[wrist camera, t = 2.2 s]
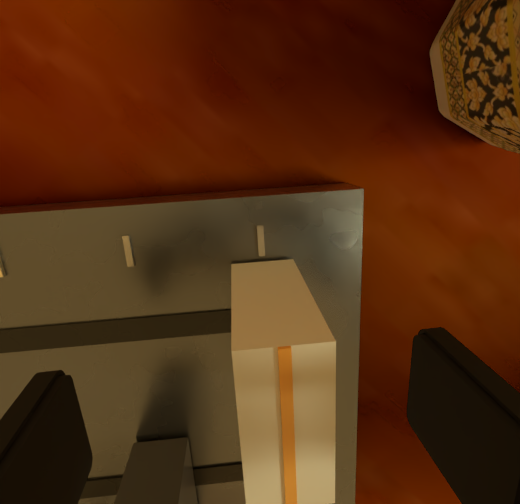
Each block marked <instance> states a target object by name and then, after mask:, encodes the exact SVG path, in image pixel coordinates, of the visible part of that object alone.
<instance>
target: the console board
mask: <svg viewBox="0 0 520 504" xmlns="http://www.w3.org/2000/svg"><path fill="white" fill-rule="evenodd" d="M363 198H364V189H363V188H360V187H357V186H355V185H352V184H349V183H338V184H324V185H309V186H295V187H280V188H266V189H251V190H237V191H222V192H208V193H193V194H179V195H165V196H150V197H136V198H121V199H107V200H92V201H78V202H63V203H49V204H34V205H20V206H6V207H0V419H1V418H2V417H3V415H4V414H5V413H6V412H7V410H8V409H9V408H10V406H11V405H12V404H13V402H14V401H15V400H16V398H17V397H18V396H19V395H20V393H21V392H22V391H23V389H24V388H25V387H26V385H27V384H28V383H29V381H30V380H31V379H32V377H33V376H34V375H35V374H36V373H39V372H46V371H55V370H62V371H64V373H65V375H71V377H72V379H73V382H74V386H75V390H76V394H77V397H78V401H79V405H80V409H81V413H82V416H83V420H84V424H85V428H86V431H87V435H88V439H89V443H90V446H91V450H92V455H93V461H92V468H91V471H90V473H89V476H88V479H87V481H86V484H85V487H84V489H83V492H82V494H81V497H80V500H79V502H78V504H114V502H115V499H116V496H117V493H118V490H119V486H120V483H121V480H122V477H123V474H124V471H125V468H126V465H127V462H128V459H129V455H130V452H131V449H132V446H133V443H138V442H148V441H157V440H167V439H176V438H185V437H188V441H189V448H190V454H191V461H192V468H193V474H194V481H195V488H196V495H197V501H198V504H246V500H245V489H244V479H243V468H242V458H241V447H240V436H239V426H238V415H237V405H236V394H235V384H234V373H233V363H232V352H231V264H239V263H251V262H264V261H276V260H289V259H293V260H294V262H295V264H296V266H297V268H298V269H299V271H300V273H301V275H302V277H303V279H304V281H305V283H306V285H307V287H308V289H309V291H310V292H311V294H312V296H313V298H314V300H315V302H316V304H317V306H318V308H319V310H320V312H321V314H322V316H323V317H324V319H325V321H326V323H327V325H328V327H329V329H330V331H331V333H332V335H333V337H334V339H335V340H336V427H335V503H332V504H355V483H356V448H357V412H358V376H359V341H360V305H361V269H362V234H363Z"/></svg>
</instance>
